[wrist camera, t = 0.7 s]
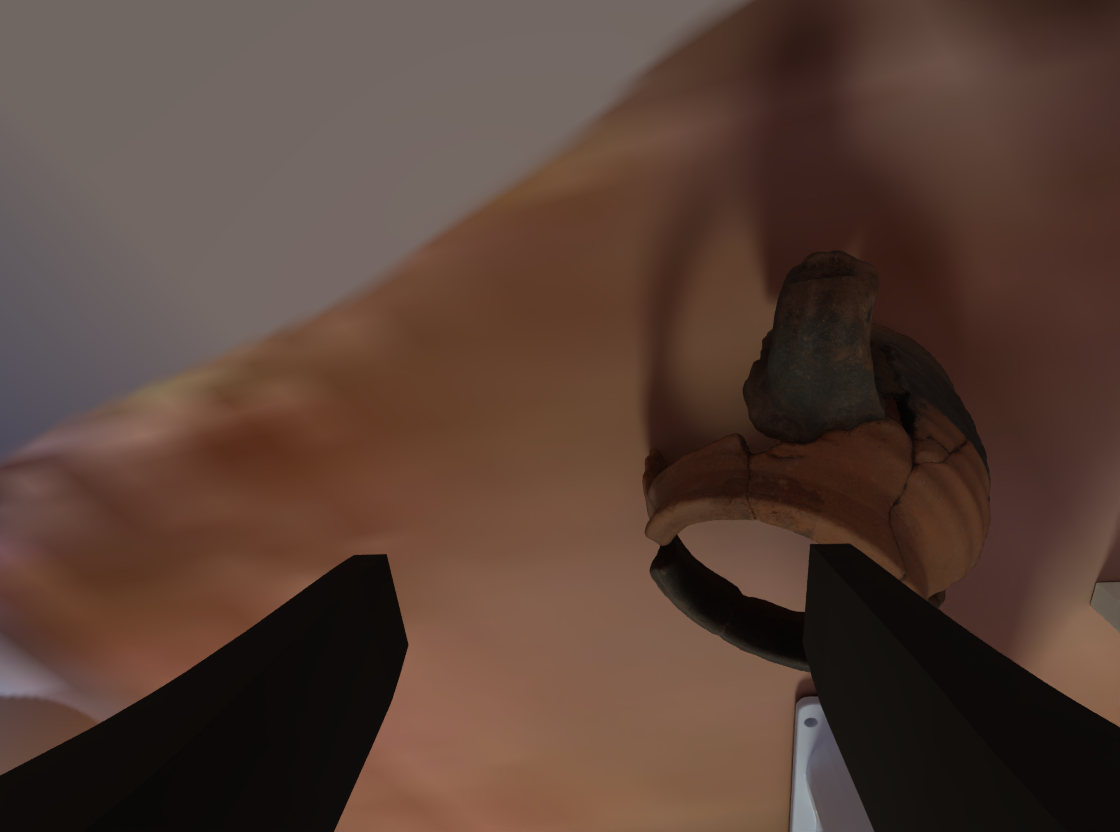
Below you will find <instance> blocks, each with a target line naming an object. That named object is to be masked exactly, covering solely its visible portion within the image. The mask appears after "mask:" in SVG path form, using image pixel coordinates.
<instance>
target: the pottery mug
mask: <svg viewBox="0 0 1120 832" xmlns="http://www.w3.org/2000/svg"><path fill="white" fill-rule="evenodd" d="M877 294H878V273H877V271H876V269H875V268H874V267H873V266H872V265H871V264H869V263H867V262H864V261H861V260H858V259H856V258H855V257H853V256H851V255H848V254H846V253H845V252H843V251H831V252H816V253H812V254H810V255H809V256H807V257H806V258H805V260H804V261H803V262H802V263H801V264H799V265H797V266H795V267H794V268H792V269H791V270H790V272H789V273H788V274H787V276H786V279H785V281H784V284H783V287H782V289H781V291H780V294H779V298H778V301H777V306H776V311H775V316H774V323H773V329H772V330H771V331H769V332H768V333H767V335H766V337H765V338H764V339H763V340H762V350H761V358H760V360H757V361H755V362H754V363H753V365H752V368H751V371H750V374H749V377H748V379H747V380H746V381H745V383H744V386H743V396H744V400H745V402H746V405H747V407H748V413H749V418H750V420H751V422H752V423H753V425H754V427H755V428H756V429H757V430H758V431H759V432H761V433H762V434H764V435H766V436H768V437H770V438H775V439H779V440H781V442H780V443H779V444H778V445H776V446H775V447H772V448H771V449H770V450H768V451H764V452H760V453H757V454H752V453H750V451H749V447H747V445H746V441H745V439H744V437H742V436H741V435H740V434H737V433H736V434H731V435H728V436H726V437H723V438H722V439H720V440H717V441H715V442H713V443H710V444H708V445H706V446H704V447H703V448H701V449H697V450H695V451H692V452H690V453H687V454H686V455H684V456H683V457H682V458H681V459H680V460H678V461H677V462H676V463H674V464H673V465H672V466H670V467H668V468H667V466H666V464H665V460H664V459H663V456H662V455H661V453H660V452H659V451H658V450H657V449H654V448H652V449H651V450H650V452H649V456H647V458H646V459H645V472H644V474H643V480H642V483H643V490H644V495H645V500H646V506H647V512H648V516H649V519H650V520H649V521H648V523H647V525H646V528H645V535H646V537H648V538H649V539H651V540H653V541H655V542H656V543H658V544H659V545H660V548H659V550H658V553H657V556H656V557H655V558H654V560H653V562H652V564H651V567H650V574H651V577H652V579H653V580H654V581H655V582H656V584H657V586H658V587H659V588H660V590H661V591H662V592H663V593H664V595H665V596H667V597H668V598H669V599H670V601H671V602H672V603H673V604H674V605H675V606H676V607H677V608H678V609H679V610H681V611H682V612H683V613H684V614H685V615H686V616H687V617H689V618H690V619H691V620H692V621H694V622H695V623H697V624H698V625H700V626H701V627H703V628H704V629H706V630H708V631H709V632H711V633H713V634H716V635H719V636H720V637H721V638H722V639H723V640H725V641H727V642H728V643H730V644H732V645H734V646H736V647H738V648H739V649H740V650H743V651H745V652H748V653H751V654H754V655H757V656H759V657H761V658H763V659H766V660H768V661H770V662H774V663H777V664H781V665H784V666H787V667H790V668H793V669H797V670H800V671H805V672H811V671H810V668H809V664H808V661H807V657H806V654H805V650H804V646H803V633H804V620H805V612H796V611H792V610H789V609H786V608H784V607H781V606H778V605H775V604H773V603H771V602H768V601H766V600H762V599H758V598H755V597H747V596H745V595H743V594H742V593H741V591H740V590H739V588H738V587H737V586H735V585H734V584H732V583H731V582H729V581H728V580H726V579H725V578H723V577H721V576H719V575H718V574H716V573H715V572H713V571H712V570H710V569H709V568H707V567H706V566H704V565H703V564H702V563H701V562H699V561H698V560H697V559H696V558H695V557H693V556H692V555H691V553H690V552H689V550H688V549H687V548H686V547H685V545H684V544H683V543H682V541H681V540H680V538H679V537H678V535H677V534H678V533H679V532H680V531H681V530H682V529H684V528H685V527H687V526H689V525H691V524H695V523H699V522H704V521H710V520H760V521H762V522H764V523H767V524H771V525H774V526H778V527H781V528H784V529H788V530H791V531H793V532H795V533H797V534H800V535H803V536H805V537H807V538H810V539H812V540H814V541H816V542H818V543H820V544H843V543H850V544H852V545H853V546H854V547H856V548H857V549H859V550H860V551H861V552H863V553H864V554H866V555H867V556H868V557H870V558H871V559H872V560H874V561H875V562H876V563H877V564H879V565H880V566H881V567H883V568H884V569H885V570H887V571H888V572H889V573H891V574H892V575H893V576H895V577H896V578H897V579H898V580H900V581H901V582H902V583H904V584H905V585H906V586H908V587H909V588H910V589H912V590H913V591H914V592H916V593H917V594H918V595H920V596H921V597H922V598H924V599H925V600H926V601H928V602H929V603H930V604H932V605H933V606H934V607H936V608H937V609H938V608H939V606H940V605H941V604H942V603H943V602H944V600H945V589H947V588H949V587H950V586H951V585H952V584H953V583H954V582H956V581H959V580H961V579H962V578H963V577H964V576H965V575H966V573H967V571H968V570H970V569H971V568H973V567H974V566H975V565H976V564H977V562H978V559H979V557H980V555H981V552H982V549H983V545H984V540H985V538H986V537H987V534H988V529H989V525H990V506H989V501H990V499H989V491H990V475H989V468H988V465H987V457H986V452H985V448H984V446H983V445H982V443H981V440H980V438H979V435H978V434H977V431H976V426H975V424H974V422H973V420H972V418H971V416H970V414H969V413H968V411H967V410H966V409H965V407H964V405H963V403H962V401H961V399H960V397H959V396H958V395H957V394H956V393H955V390H954V387H953V384H952V383H951V381H950V379H949V377H948V375H947V373H946V372H945V370H944V369H943V367H942V366H941V365H940V364H939V363H938V362H937V361H936V359H935V358H934V357H933V356H932V355H931V354H930V353H929V352H928V351H926V350H925V349H924V348H923V347H922V346H920V345H919V344H918V343H916V342H915V341H914V340H912V339H910V338H908V337H907V336H904V335H902V334H899V333H896V332H894V331H892V330H890V329H888V328H885V327H882V326H879V325H877V324H873V323H872V315H873V309H874V304H875V300H876V297H877ZM891 397H893V398H894V399H895V400H896V401H897V408H898V411H899V413H900V420H901V422H902V425H903V427H902V426H901V425H900V424H899V423H898V422H897V421H896V420H895V419H893V418H890V417H888V416H886V415H885V408H886V405H885V401H884V399H883V398H891Z"/></svg>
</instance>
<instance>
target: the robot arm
mask: <svg viewBox="0 0 1120 832" xmlns="http://www.w3.org/2000/svg"><path fill="white" fill-rule="evenodd" d="M803 646H804V650H805V654H806V657H807V661H808V664H809V668H810V671H811V675H812V678H813V682H814V685H815V688H816V692H817V695H818V697H804V698H802V699H800V700H799V701H798V702H797V704H796V715H795V734H794V753H793V773H792V792H791V811H790V831H789V832H1120V727H1118V726H1117V725H1115V724H1113V723H1112V722H1110V721H1108V720H1106V719H1105V718H1103V717H1101V716H1100V715H1098V714H1096V713H1094V712H1093V711H1091V710H1089V709H1088V708H1086V707H1084V706H1082V705H1081V704H1079V703H1077V702H1076V701H1074V700H1072V699H1071V698H1069V697H1068V696H1066V695H1064V694H1063V693H1061V692H1060V691H1058V690H1056V689H1055V688H1053V687H1051V686H1050V685H1048V684H1047V683H1045V682H1044V681H1042V680H1041V679H1039V678H1037V677H1036V676H1034V675H1033V674H1031V673H1030V672H1028V671H1027V670H1025V669H1024V668H1022V667H1021V666H1019V665H1018V664H1016V663H1015V662H1013V661H1012V660H1010V659H1009V658H1007V657H1006V656H1004V655H1003V654H1001V653H1000V652H998V651H996V650H995V649H994V648H992V647H991V646H989V645H988V644H986V643H985V642H983V641H982V640H981V639H979V638H978V637H976V636H975V635H973V634H972V633H970V632H969V631H968V630H966V629H965V628H963V627H962V626H961V625H959V624H958V623H956V622H955V621H954V620H952V619H951V618H950V617H948V616H947V615H945V614H944V613H943V612H941V611H940V610H939V609H937V608H936V607H934V606H933V605H932V604H930V603H929V602H928V601H926V600H925V599H924V598H922V597H921V596H920V595H918V594H917V593H916V592H914V591H913V590H912V589H910V588H909V587H908V586H906V585H905V584H904V583H902V582H901V581H900V580H898V579H897V578H896V577H895V576H893V575H892V574H891V573H889V572H888V571H887V570H885V569H884V568H883V567H881V566H880V565H879V564H877V563H876V562H875V561H874V560H872V559H871V558H870V557H868V556H867V555H866V554H864V553H863V552H861V551H860V550H859V549H857V548H856V547H854V546H853V545H852V544H850V543H843V544H810V554H809V567H808V580H807V593H806V606H805V620H804V633H803ZM407 648H408V641H407V637H406V633H405V629H404V624H403V620H402V616H401V612H400V608H399V604H398V600H397V595H396V591H395V587H394V583H393V579H392V575H391V570H390V566H389V562H388V558H387V554H378V555H354V556H352V557H350V558H349V559H347V560H345V561H344V562H342V563H341V564H339V565H338V566H336V567H335V568H333V569H332V570H330V571H329V572H328V573H326V574H325V575H323V576H322V577H321V578H319V579H318V580H316V581H315V582H314V583H312V584H311V585H309V586H308V587H307V588H305V589H304V590H303V591H301V592H300V593H299V594H297V595H296V596H294V597H293V598H292V599H290V600H289V601H287V602H286V603H285V604H283V605H282V606H281V607H279V608H278V609H276V610H275V611H274V612H272V613H271V614H269V615H268V616H267V617H265V618H264V619H263V620H261V621H260V622H258V623H257V624H256V625H254V626H253V627H251V628H250V629H249V630H247V631H246V632H244V633H243V634H241V635H240V636H238V637H237V638H235V639H234V640H232V641H231V642H229V643H228V644H226V645H225V646H223V647H222V648H220V649H219V650H217V651H216V652H215V653H213V654H212V655H210V656H209V657H207V658H206V659H204V660H203V661H201V662H200V663H198V664H197V665H195V666H194V667H192V668H191V669H189V670H188V671H186V672H185V673H183V674H182V675H180V676H178V677H177V678H175V679H174V680H172V681H171V682H169V683H167V684H166V685H164V686H163V687H161V688H159V689H158V690H156V691H154V692H153V693H151V694H149V695H148V696H146V697H144V698H143V699H141V700H139V701H138V702H136V703H134V704H132V705H131V706H129V707H127V708H126V709H124V710H122V711H120V712H119V713H117V714H115V715H114V716H112V717H110V718H108V719H107V720H105V721H103V722H101V723H100V724H98V725H96V726H94V727H92V728H91V729H89V730H87V731H85V732H83V733H81V734H79V735H77V736H75V737H74V738H72V739H70V740H68V741H66V742H64V743H62V744H60V745H58V746H56V747H54V748H52V749H50V750H48V751H47V752H45V753H43V754H41V755H39V756H37V757H35V758H33V759H31V760H29V761H27V762H26V763H24V764H22V765H20V766H18V767H16V768H14V769H12V770H10V771H8V772H6V773H4V774H2V775H0V832H334V830H335V828H336V826H337V824H338V821H339V819H340V817H341V815H342V812H343V810H344V808H345V806H346V804H347V801H348V799H349V797H350V795H351V792H352V790H353V788H354V786H355V783H356V781H357V779H358V777H359V774H360V772H361V770H362V768H363V766H364V763H365V761H366V759H367V757H368V754H369V752H370V750H371V748H372V745H373V743H374V741H375V739H376V736H377V734H378V732H379V729H380V727H381V725H382V722H383V720H384V718H385V716H386V713H387V711H388V709H389V706H390V704H391V701H392V699H393V695H394V692H395V689H396V686H397V683H398V680H399V676H400V673H401V670H402V666H403V662H404V659H405V655H406V652H407ZM807 718H810V719H807Z"/></svg>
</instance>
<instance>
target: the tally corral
mask: <svg viewBox="0 0 1120 832" xmlns="http://www.w3.org/2000/svg"><path fill="white" fill-rule="evenodd" d="M1090 606H1091V607H1092V608H1093V609H1094V610H1096V611H1097V612H1098V613H1099V614H1100V615H1101V616H1102V617H1103V618H1104V619H1105V620H1107V621H1108V622H1109V623H1110V624H1111V625H1112V626H1113V627H1114V628H1115V629H1117V630H1118V631H1119V632H1120V582H1102V583H1096V586H1095V590H1094V593H1093V597H1092V601H1091V604H1090Z"/></svg>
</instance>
